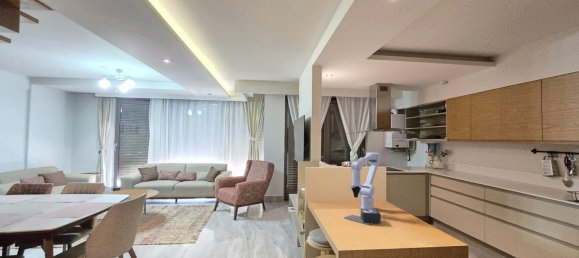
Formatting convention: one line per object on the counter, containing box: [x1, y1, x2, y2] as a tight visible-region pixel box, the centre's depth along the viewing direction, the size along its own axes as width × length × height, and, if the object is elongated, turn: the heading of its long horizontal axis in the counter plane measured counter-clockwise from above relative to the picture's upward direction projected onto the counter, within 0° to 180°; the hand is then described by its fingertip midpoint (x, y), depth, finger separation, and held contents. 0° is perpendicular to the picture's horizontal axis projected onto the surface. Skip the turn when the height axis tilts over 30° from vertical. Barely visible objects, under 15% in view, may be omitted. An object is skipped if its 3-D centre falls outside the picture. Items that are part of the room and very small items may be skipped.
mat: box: [343, 214, 374, 226], centre depth 163 cm, size 10×18×1 cm, turn 43°
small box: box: [360, 208, 382, 224], centre depth 161 cm, size 11×6×10 cm
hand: (355, 197), depth 182 cm, fingers closed
